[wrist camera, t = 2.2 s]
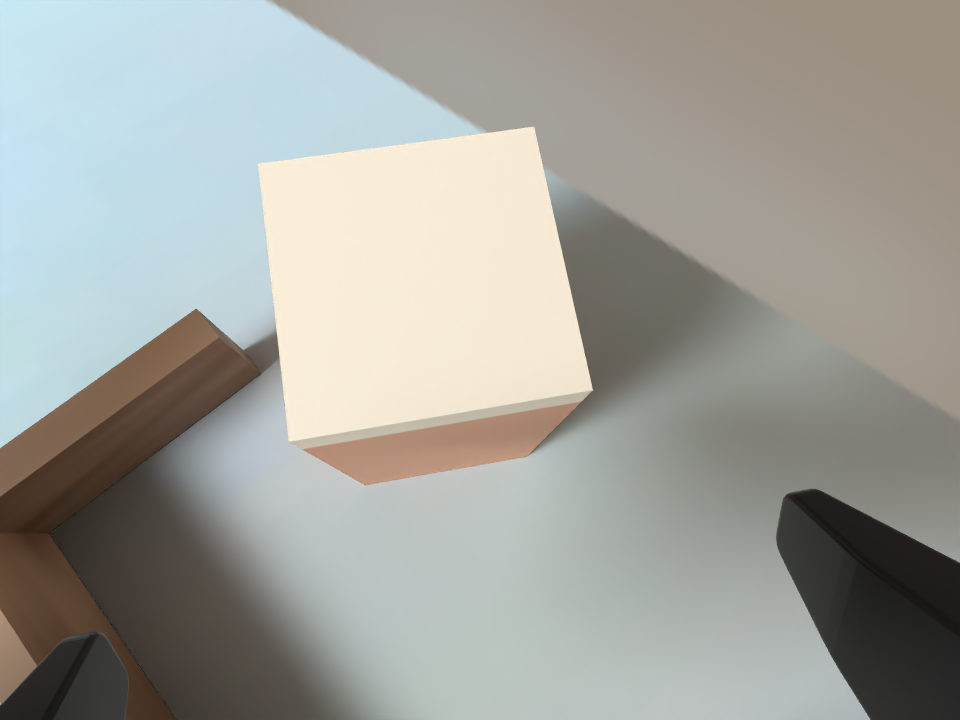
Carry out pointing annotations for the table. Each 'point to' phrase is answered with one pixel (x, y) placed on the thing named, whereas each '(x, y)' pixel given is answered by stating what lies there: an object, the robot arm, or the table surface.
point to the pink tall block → (421, 305)
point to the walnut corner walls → (97, 488)
